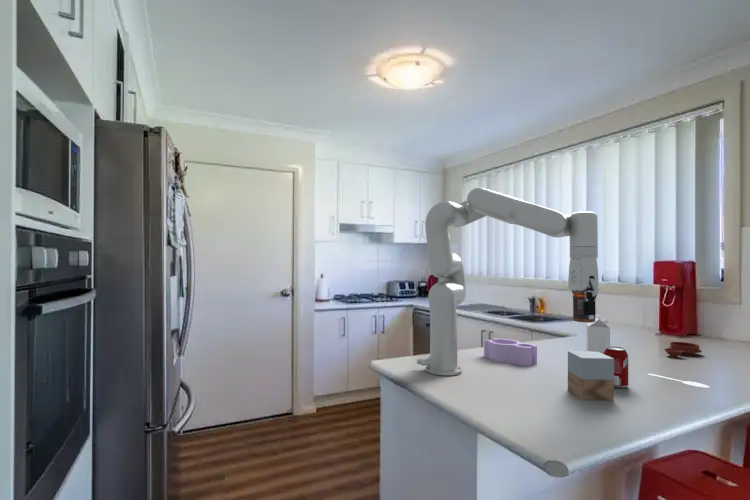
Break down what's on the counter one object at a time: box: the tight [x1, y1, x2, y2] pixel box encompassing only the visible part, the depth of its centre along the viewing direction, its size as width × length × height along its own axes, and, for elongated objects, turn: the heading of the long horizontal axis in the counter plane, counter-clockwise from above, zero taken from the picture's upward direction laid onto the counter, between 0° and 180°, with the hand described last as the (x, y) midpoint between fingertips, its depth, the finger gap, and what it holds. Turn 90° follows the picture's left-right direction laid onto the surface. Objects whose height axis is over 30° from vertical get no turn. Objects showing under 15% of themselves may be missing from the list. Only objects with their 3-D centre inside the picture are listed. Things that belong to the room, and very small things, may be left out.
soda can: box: [604, 345, 629, 389], centre depth 130 cm, size 7×7×12 cm
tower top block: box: [567, 350, 614, 380], centre depth 121 cm, size 9×9×6 cm
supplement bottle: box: [572, 289, 596, 323], centre depth 122 cm, size 6×6×11 cm
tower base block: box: [567, 370, 615, 402], centre depth 120 cm, size 9×9×6 cm
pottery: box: [664, 341, 703, 359], centre depth 175 cm, size 12×20×4 cm, turn 123°
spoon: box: [647, 373, 711, 389], centre depth 136 cm, size 5×18×1 cm, turn 31°
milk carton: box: [586, 314, 611, 354], centre depth 156 cm, size 7×7×19 cm
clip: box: [483, 337, 538, 367], centre depth 163 cm, size 20×12×7 cm, turn 41°
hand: (584, 313), depth 122 cm, fingers closed on supplement bottle, 6 cm apart
